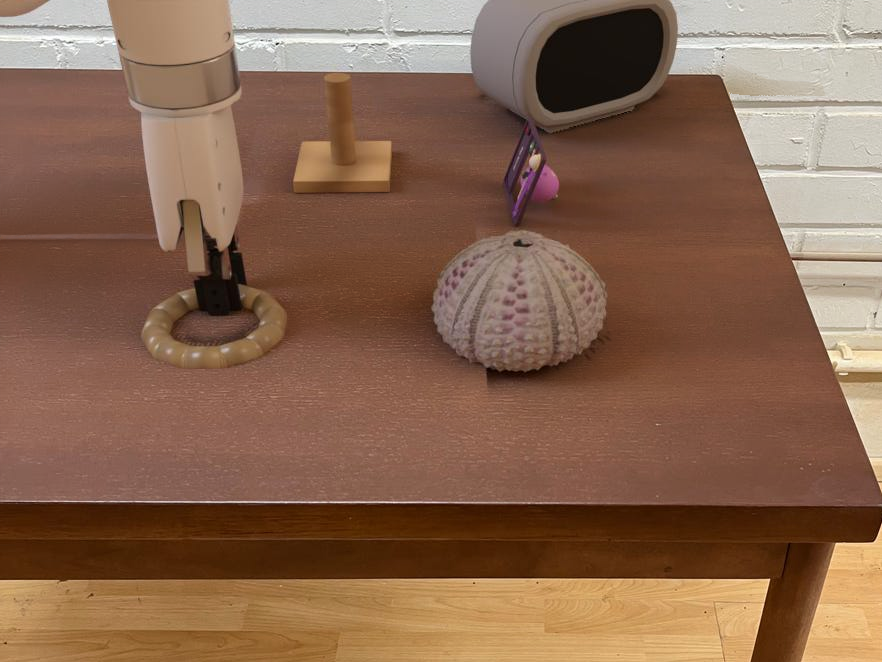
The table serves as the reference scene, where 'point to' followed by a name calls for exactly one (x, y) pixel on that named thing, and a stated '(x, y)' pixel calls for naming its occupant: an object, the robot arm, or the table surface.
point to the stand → (342, 151)
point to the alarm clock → (572, 56)
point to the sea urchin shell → (519, 302)
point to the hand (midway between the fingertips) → (225, 307)
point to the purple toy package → (529, 173)
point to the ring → (213, 356)
